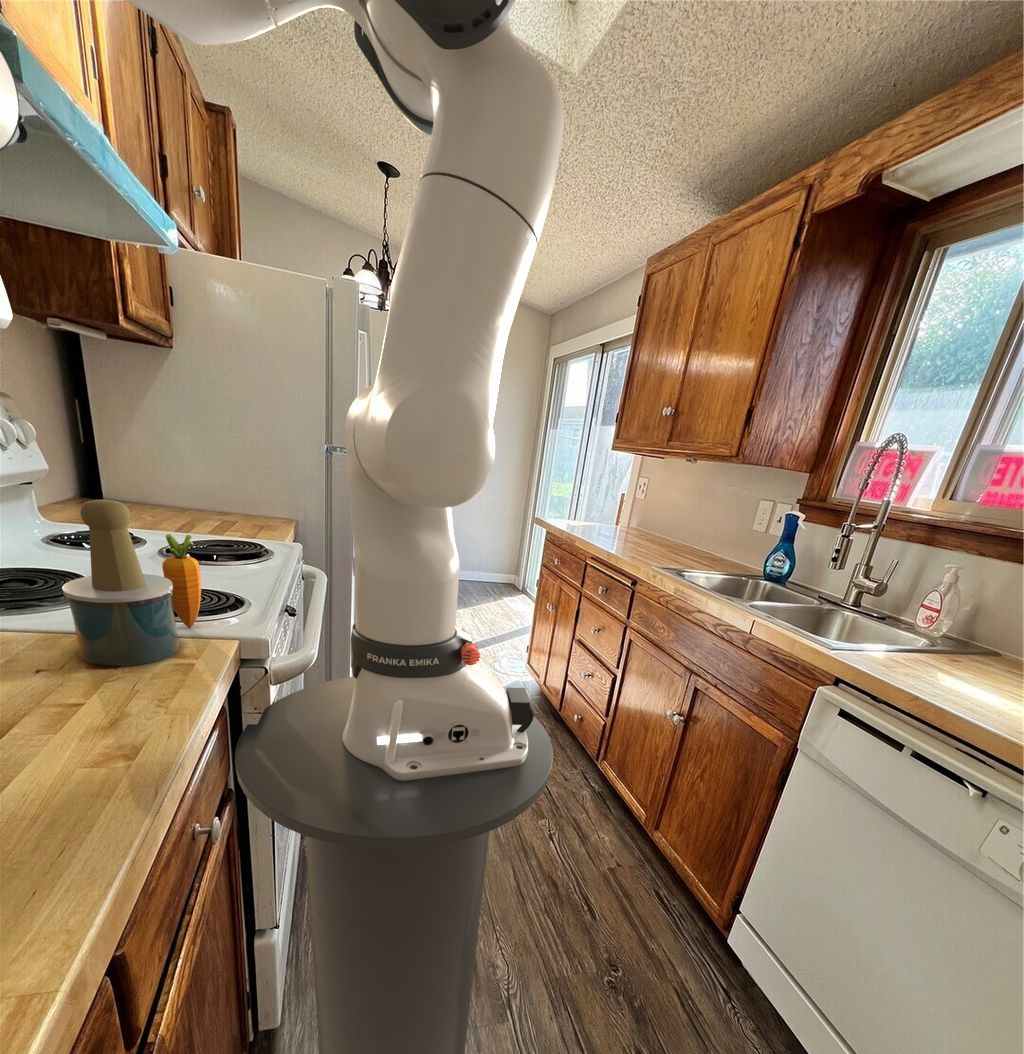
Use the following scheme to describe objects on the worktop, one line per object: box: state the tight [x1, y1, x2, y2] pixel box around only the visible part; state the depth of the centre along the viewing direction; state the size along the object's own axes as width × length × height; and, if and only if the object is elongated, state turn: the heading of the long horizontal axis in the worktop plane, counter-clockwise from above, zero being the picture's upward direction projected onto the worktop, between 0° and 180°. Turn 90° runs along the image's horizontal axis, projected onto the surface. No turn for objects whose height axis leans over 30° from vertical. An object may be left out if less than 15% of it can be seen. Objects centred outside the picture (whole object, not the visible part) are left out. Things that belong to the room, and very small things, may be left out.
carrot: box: [161, 533, 202, 629], centre depth 86 cm, size 5×5×15 cm
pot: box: [61, 573, 180, 667], centre depth 77 cm, size 12×12×10 cm
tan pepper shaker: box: [80, 499, 146, 591], centre depth 73 cm, size 6×6×11 cm
